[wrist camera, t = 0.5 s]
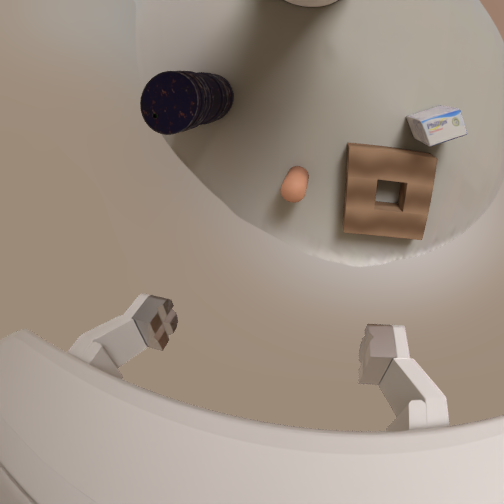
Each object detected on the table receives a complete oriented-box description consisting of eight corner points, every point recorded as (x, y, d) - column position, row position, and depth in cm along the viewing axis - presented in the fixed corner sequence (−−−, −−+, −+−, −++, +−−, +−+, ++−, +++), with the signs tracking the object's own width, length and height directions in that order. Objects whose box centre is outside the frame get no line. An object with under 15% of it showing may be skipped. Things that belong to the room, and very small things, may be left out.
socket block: (347, 142, 43) (349, 146, 40) (429, 153, 39) (437, 158, 36) (342, 222, 52) (343, 232, 49) (416, 230, 48) (421, 240, 45)
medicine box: (413, 138, 39) (429, 148, 32) (404, 115, 37) (420, 120, 30) (448, 127, 35) (468, 135, 28) (440, 104, 34) (460, 108, 27)
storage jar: (213, 63, 40) (171, 56, 28) (244, 100, 44) (213, 105, 32) (176, 96, 46) (129, 103, 34) (205, 131, 49) (165, 148, 37)
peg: (287, 165, 49) (280, 178, 42) (308, 166, 48) (305, 179, 41) (287, 185, 51) (281, 201, 44) (308, 187, 50) (305, 203, 43)
